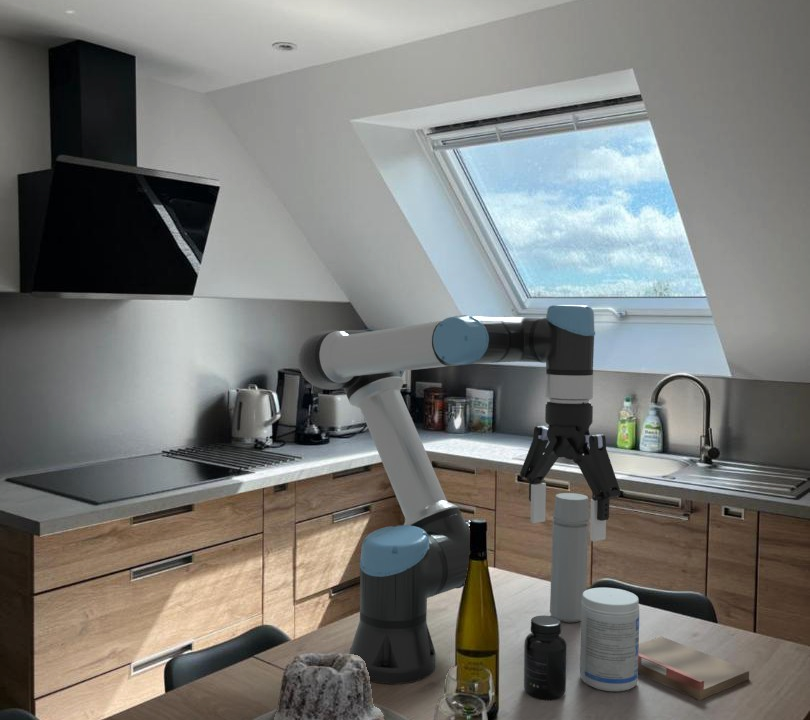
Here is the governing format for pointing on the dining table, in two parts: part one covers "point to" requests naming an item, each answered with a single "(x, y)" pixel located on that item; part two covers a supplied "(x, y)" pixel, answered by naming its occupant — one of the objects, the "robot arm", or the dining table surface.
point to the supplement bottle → (545, 659)
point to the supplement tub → (609, 639)
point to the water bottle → (569, 556)
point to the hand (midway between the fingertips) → (566, 530)
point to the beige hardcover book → (687, 668)
